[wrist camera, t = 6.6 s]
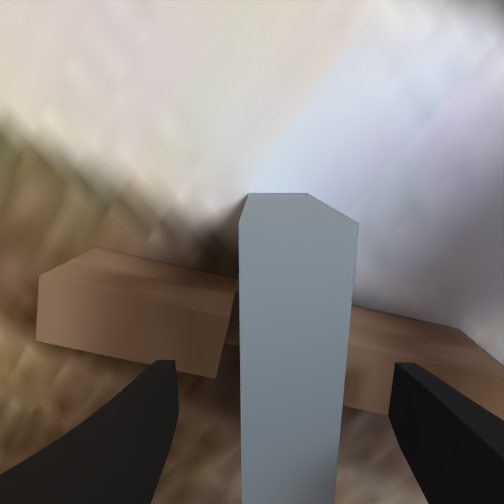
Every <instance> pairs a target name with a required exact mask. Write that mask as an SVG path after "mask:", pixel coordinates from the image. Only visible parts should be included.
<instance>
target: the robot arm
mask: <svg viewBox="0 0 504 504" xmlns="http://www.w3.org/2000/svg"><path fill="white" fill-rule="evenodd" d="M178 414H179V405H178V391H177V378H176V364H175V360H156V361H155V362H154V363H152V364H151V365H150V366H149V367H148V368H147V369H146V370H145V371H143V372H142V373H141V374H140V375H139V376H138V377H137V378H136V379H134V380H133V381H132V382H131V383H130V384H129V385H128V386H126V387H125V388H124V389H123V390H122V391H121V392H119V393H118V394H117V395H116V396H115V397H114V398H112V399H111V400H110V401H109V402H107V403H106V404H105V405H104V406H102V407H101V408H100V409H99V410H97V411H96V412H95V413H93V414H92V415H91V416H90V417H88V418H87V419H86V420H85V421H83V422H82V423H81V424H79V425H78V426H76V427H75V428H74V429H72V430H71V431H69V432H68V433H67V434H65V435H64V436H62V437H61V438H59V439H58V440H56V441H55V442H53V443H52V444H50V445H49V446H47V447H46V448H44V449H43V450H41V451H39V452H38V453H36V454H34V455H33V456H31V457H29V458H28V459H26V460H24V461H23V462H21V463H19V464H18V465H16V466H14V467H13V468H11V469H9V470H7V471H6V472H4V473H2V474H1V475H0V504H151V501H152V498H153V495H154V492H155V490H156V487H157V484H158V481H159V478H160V476H161V473H162V470H163V467H164V464H165V461H166V459H167V456H168V453H169V450H170V447H171V444H172V440H173V436H174V432H175V428H176V423H177V419H178ZM388 416H389V419H390V422H391V425H392V427H393V430H394V433H395V436H396V438H397V441H398V443H399V446H400V448H401V450H402V452H403V454H404V456H405V458H406V460H407V462H408V464H409V466H410V468H411V470H412V472H413V474H414V476H415V478H416V480H417V482H418V484H419V486H420V488H421V490H422V492H423V494H424V495H425V497H426V499H427V501H428V503H429V504H504V420H502V419H501V418H499V417H497V416H496V415H494V414H493V413H491V412H489V411H488V410H486V409H485V408H483V407H482V406H480V405H478V404H477V403H475V402H474V401H472V400H471V399H469V398H468V397H466V396H465V395H463V394H462V393H460V392H459V391H457V390H456V389H454V388H453V387H451V386H450V385H448V384H447V383H445V382H444V381H442V380H441V379H439V378H438V377H436V376H435V375H433V374H432V373H430V372H429V371H427V370H426V369H424V368H422V367H421V366H419V365H417V364H416V363H412V362H395V367H394V374H393V381H392V389H391V396H390V404H389V411H388Z"/></svg>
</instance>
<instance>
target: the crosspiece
mask: <svg viewBox="0 0 504 504" xmlns="http://www.w3.org/2000/svg"><path fill="white" fill-rule="evenodd" d="M358 226H359V223H357V222H356V221H354V220H352V219H351V218H349V217H347V216H345V215H344V214H342V213H340V212H339V211H337V210H335V209H333V208H332V207H330V206H328V205H327V204H325V203H323V202H321V201H320V200H318V199H316V198H315V197H313V196H311V195H309V194H308V193H249V194H248V197H247V200H246V203H245V205H244V208H243V211H242V214H241V217H240V220H239V306H240V395H241V483H242V504H334V495H335V484H336V473H337V461H338V450H339V439H340V428H341V417H342V405H343V394H344V383H345V372H346V360H347V349H348V338H349V327H350V316H351V304H352V293H353V282H354V271H355V259H356V248H357V237H358Z"/></svg>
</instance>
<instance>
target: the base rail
mask: <svg viewBox="0 0 504 504" xmlns="http://www.w3.org/2000/svg"><path fill="white" fill-rule="evenodd" d="M36 341H39V342H44V343H49V344H54V345H58V346H63V347H68V348H72V349H77V350H82V351H87V352H91V353H96V354H101V355H105V356H110V357H115V358H120V359H124V360H129V361H134V362H139V363H143V364H148V365H151V364H152V363H154V362H155V361H156V360H175V364H176V371H181V372H186V373H190V374H195V375H200V376H205V377H209V378H214V379H216V375H217V371H218V367H219V363H220V358H221V354H222V350H223V346H224V344H229V345H233V346H238V347H240V306H239V280H238V279H234V278H229V277H225V276H220V275H216V274H212V273H207V272H203V271H198V270H194V269H189V268H185V267H181V266H176V265H172V264H167V263H163V262H158V261H154V260H150V259H145V258H141V257H136V256H132V255H127V254H123V253H119V252H114V251H110V250H105V249H101V248H94V249H92V250H90V251H88V252H86V253H84V254H82V255H80V256H78V257H76V258H74V259H72V260H70V261H68V262H66V263H64V264H62V265H60V266H58V267H56V268H54V269H52V270H50V271H48V272H46V273H44V274H42V275H40V276H39V289H38V307H37V324H36ZM395 362H412V363H416V364H417V365H419V366H421V367H422V368H424V369H426V370H427V371H429V372H430V373H432V374H433V375H435V376H436V377H438V378H439V379H441V380H442V381H444V382H445V383H447V384H448V385H450V386H451V387H453V388H454V389H456V390H457V391H459V392H460V393H462V394H463V395H465V396H466V397H468V398H469V399H471V400H472V401H474V402H475V403H477V404H478V405H480V406H482V407H483V408H485V409H486V410H488V411H489V412H491V413H493V414H494V415H496V416H497V417H499V418H501V419H502V420H504V366H503V365H502V364H501V363H500V362H498V361H497V360H496V359H495V358H494V357H492V356H491V355H490V354H489V353H487V352H486V351H485V350H484V349H483V348H481V347H480V346H479V345H478V344H476V343H475V342H474V341H473V340H472V339H470V338H469V337H468V336H467V335H466V334H464V333H463V332H462V331H461V330H459V329H455V328H451V327H447V326H442V325H438V324H433V323H429V322H424V321H420V320H416V319H411V318H407V317H402V316H398V315H393V314H389V313H384V312H380V311H376V310H371V309H367V308H362V307H358V306H353V305H351V316H350V327H349V338H348V349H347V360H346V372H345V383H344V394H343V405H342V406H346V407H351V408H356V409H360V410H365V411H370V412H374V413H379V414H384V415H388V411H389V404H390V396H391V389H392V381H393V374H394V367H395Z"/></svg>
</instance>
